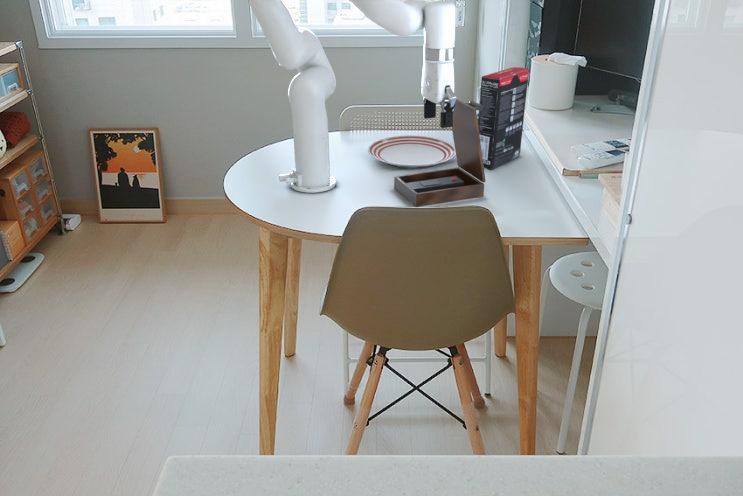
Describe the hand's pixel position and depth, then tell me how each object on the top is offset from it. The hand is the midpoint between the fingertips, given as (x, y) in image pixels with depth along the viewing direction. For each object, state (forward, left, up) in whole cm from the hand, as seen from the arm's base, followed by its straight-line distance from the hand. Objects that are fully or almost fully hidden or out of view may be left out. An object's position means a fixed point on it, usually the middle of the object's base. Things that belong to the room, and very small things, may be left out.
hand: (437, 122), depth 181 cm
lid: (+8, 0, -5) cm, 10 cm away
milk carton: (+38, +38, -20) cm, 57 cm away
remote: (0, 0, -19) cm, 19 cm away
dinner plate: (+7, +31, -20) cm, 38 cm away
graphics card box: (+30, +18, -20) cm, 40 cm away
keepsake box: (+1, 0, -20) cm, 20 cm away
